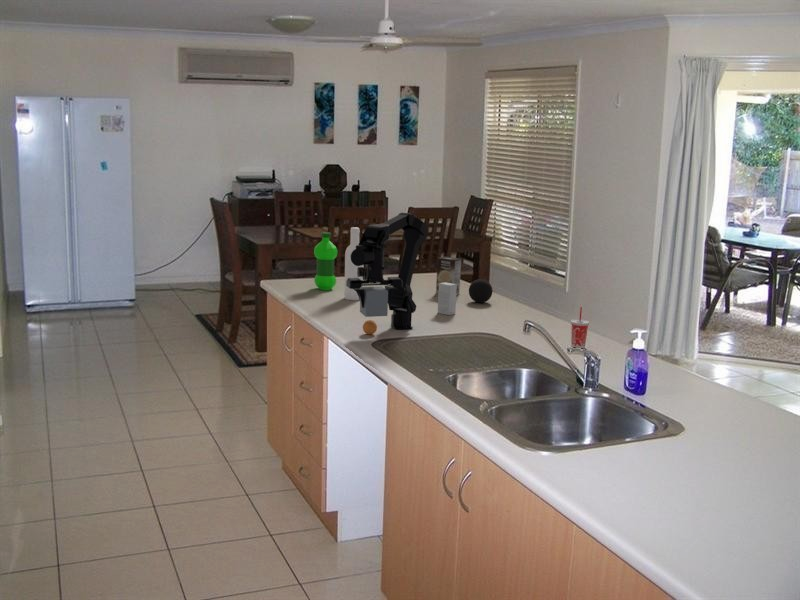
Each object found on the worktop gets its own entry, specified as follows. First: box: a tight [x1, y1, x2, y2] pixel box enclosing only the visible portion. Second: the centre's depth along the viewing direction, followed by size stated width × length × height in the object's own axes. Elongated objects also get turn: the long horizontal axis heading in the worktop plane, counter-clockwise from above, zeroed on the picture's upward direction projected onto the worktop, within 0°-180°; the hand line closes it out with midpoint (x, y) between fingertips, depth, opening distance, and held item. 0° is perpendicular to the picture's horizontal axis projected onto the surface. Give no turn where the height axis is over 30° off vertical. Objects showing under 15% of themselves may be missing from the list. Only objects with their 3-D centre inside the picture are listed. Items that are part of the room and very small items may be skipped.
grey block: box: [359, 286, 389, 318], centre depth 294 cm, size 8×8×9 cm
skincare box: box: [437, 282, 457, 316], centre depth 336 cm, size 6×4×12 cm
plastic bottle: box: [313, 231, 339, 291], centre depth 376 cm, size 10×10×25 cm
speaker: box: [468, 278, 493, 304], centre depth 359 cm, size 10×10×10 cm
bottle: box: [343, 226, 365, 301], centre depth 357 cm, size 8×8×30 cm
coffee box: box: [435, 256, 462, 296], centre depth 375 cm, size 9×6×16 cm
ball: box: [362, 319, 378, 335], centre depth 298 cm, size 5×5×5 cm
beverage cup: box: [570, 306, 590, 350], centre depth 289 cm, size 6×6×14 cm
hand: (374, 307), depth 294 cm, fingers closed on grey block, 8 cm apart
